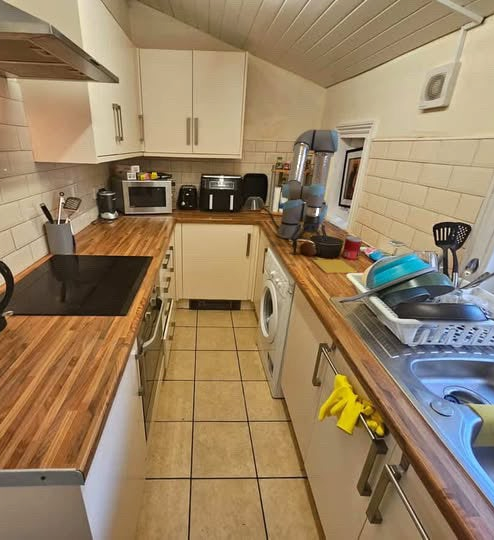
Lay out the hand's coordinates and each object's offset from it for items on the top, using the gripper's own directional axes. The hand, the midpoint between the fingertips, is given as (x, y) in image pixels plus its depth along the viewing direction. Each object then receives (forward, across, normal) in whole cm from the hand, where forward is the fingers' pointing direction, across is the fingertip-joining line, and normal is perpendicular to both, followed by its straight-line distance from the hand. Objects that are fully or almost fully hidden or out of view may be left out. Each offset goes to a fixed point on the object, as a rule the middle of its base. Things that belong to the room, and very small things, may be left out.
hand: (306, 253), depth 165 cm
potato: (+1, 0, 0) cm, 1 cm away
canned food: (+1, +23, -2) cm, 23 cm away
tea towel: (+1, +10, -16) cm, 19 cm away
